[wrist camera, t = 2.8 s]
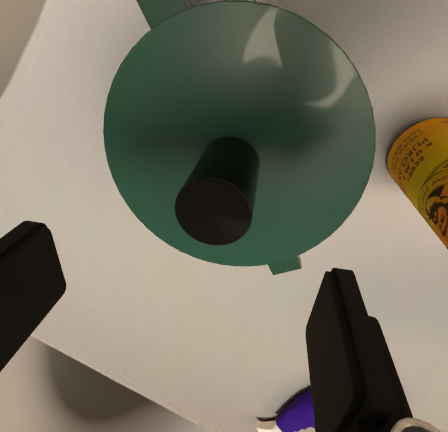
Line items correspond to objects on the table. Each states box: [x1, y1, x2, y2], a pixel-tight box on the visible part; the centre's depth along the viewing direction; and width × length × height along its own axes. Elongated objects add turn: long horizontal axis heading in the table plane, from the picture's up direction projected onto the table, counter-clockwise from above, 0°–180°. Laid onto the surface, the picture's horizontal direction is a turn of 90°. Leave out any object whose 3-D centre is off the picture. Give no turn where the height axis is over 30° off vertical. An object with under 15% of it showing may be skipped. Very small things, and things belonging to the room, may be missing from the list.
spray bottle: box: [257, 389, 315, 432], centre depth 47 cm, size 3×11×24 cm
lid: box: [103, 1, 375, 266], centre depth 16 cm, size 17×17×7 cm
